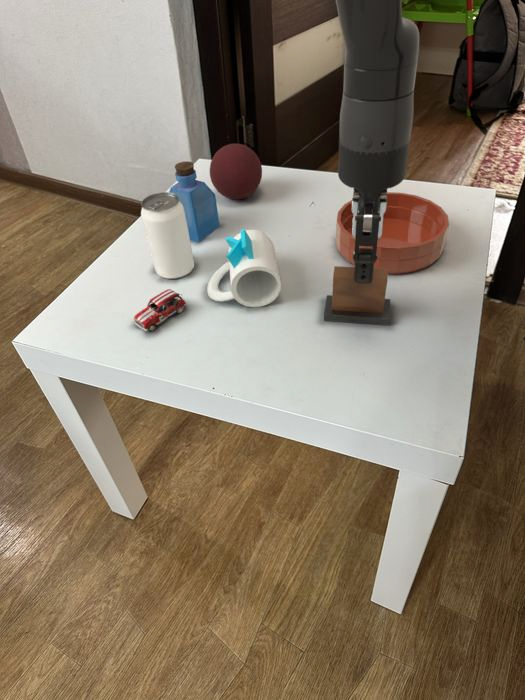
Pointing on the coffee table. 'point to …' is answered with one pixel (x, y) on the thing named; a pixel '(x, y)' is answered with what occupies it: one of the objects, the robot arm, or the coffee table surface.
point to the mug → (248, 270)
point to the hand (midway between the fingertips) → (364, 262)
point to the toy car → (159, 309)
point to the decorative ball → (235, 171)
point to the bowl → (400, 233)
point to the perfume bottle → (195, 202)
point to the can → (167, 235)
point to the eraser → (358, 298)
